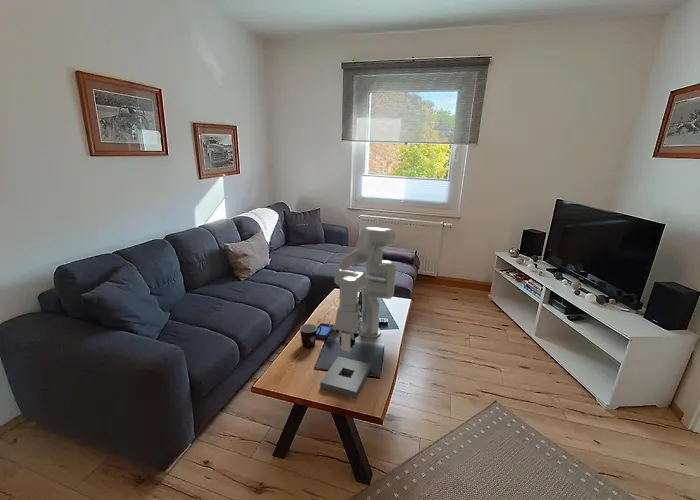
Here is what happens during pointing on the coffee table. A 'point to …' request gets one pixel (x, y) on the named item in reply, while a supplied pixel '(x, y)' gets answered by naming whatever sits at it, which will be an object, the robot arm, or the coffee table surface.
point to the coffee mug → (309, 335)
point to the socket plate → (345, 384)
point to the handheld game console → (324, 331)
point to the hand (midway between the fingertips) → (347, 344)
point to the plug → (345, 341)
